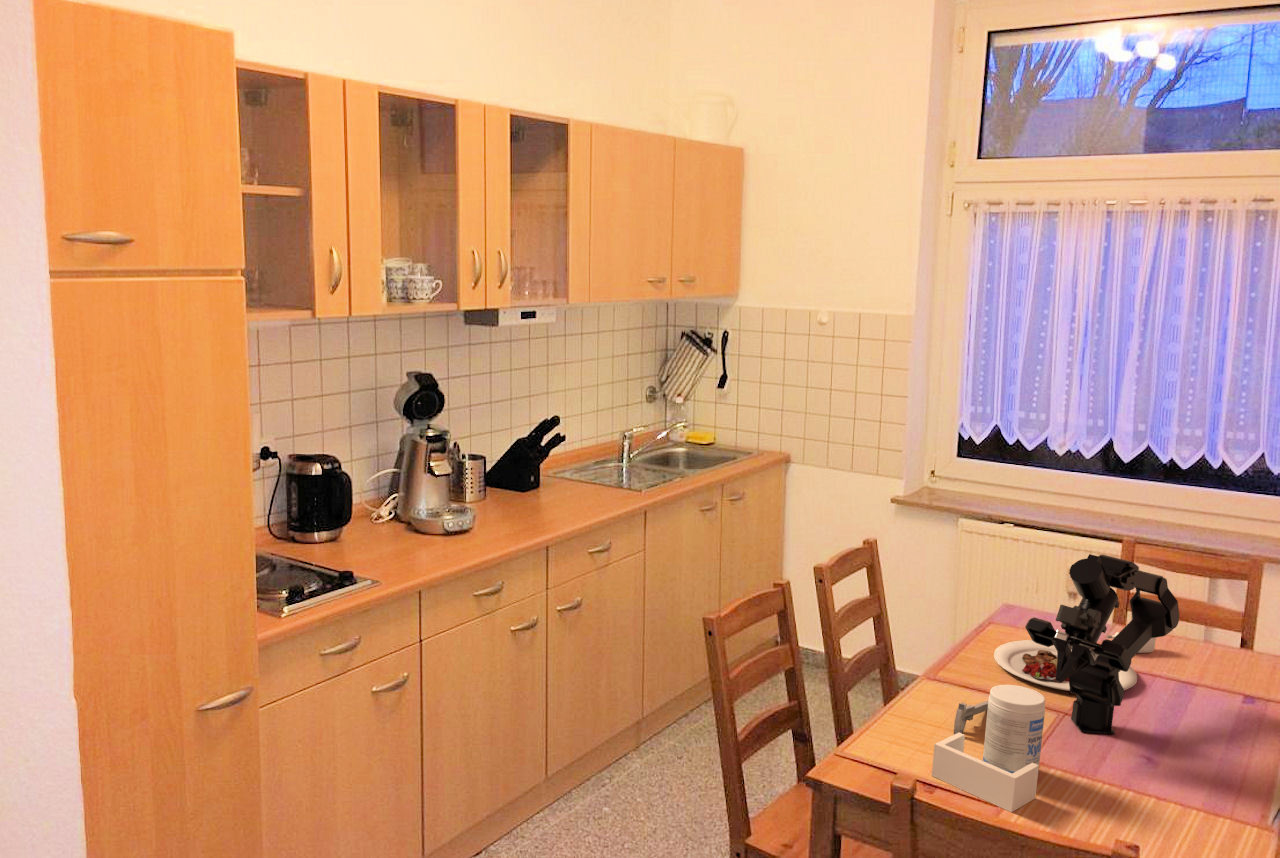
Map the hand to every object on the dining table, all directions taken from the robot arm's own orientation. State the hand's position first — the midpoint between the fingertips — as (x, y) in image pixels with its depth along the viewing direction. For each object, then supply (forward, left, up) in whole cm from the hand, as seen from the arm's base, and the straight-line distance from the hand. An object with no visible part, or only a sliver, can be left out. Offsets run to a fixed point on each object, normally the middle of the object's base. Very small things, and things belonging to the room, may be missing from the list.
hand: (1058, 681), depth 197 cm
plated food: (-15, -41, -14) cm, 46 cm away
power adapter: (-36, -57, -14) cm, 68 cm away
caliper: (+11, -12, -14) cm, 21 cm away
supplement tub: (+10, +10, -14) cm, 20 cm away
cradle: (+17, +17, -14) cm, 27 cm away
